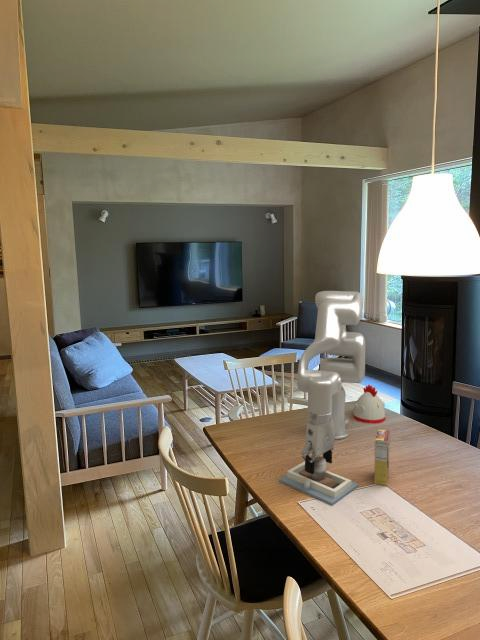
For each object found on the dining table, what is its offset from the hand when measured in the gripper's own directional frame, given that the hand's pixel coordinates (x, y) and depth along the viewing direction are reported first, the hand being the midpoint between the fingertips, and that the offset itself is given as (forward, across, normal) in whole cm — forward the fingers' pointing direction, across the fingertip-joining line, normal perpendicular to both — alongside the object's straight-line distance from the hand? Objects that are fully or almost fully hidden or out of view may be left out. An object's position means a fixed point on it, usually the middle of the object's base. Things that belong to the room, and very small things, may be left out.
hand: (318, 467), depth 146 cm
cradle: (+6, 0, 0) cm, 6 cm away
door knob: (+5, 0, 0) cm, 5 cm away
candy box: (+6, +17, -13) cm, 22 cm away
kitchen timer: (+6, +63, +17) cm, 66 cm away
